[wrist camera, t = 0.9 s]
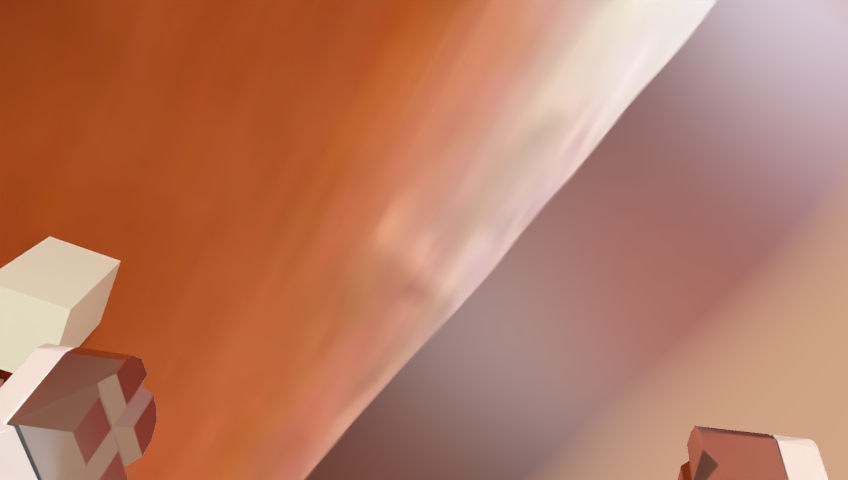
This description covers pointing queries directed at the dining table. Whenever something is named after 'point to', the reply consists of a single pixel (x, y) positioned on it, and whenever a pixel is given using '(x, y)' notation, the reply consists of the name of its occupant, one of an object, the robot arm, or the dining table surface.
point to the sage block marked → (51, 298)
